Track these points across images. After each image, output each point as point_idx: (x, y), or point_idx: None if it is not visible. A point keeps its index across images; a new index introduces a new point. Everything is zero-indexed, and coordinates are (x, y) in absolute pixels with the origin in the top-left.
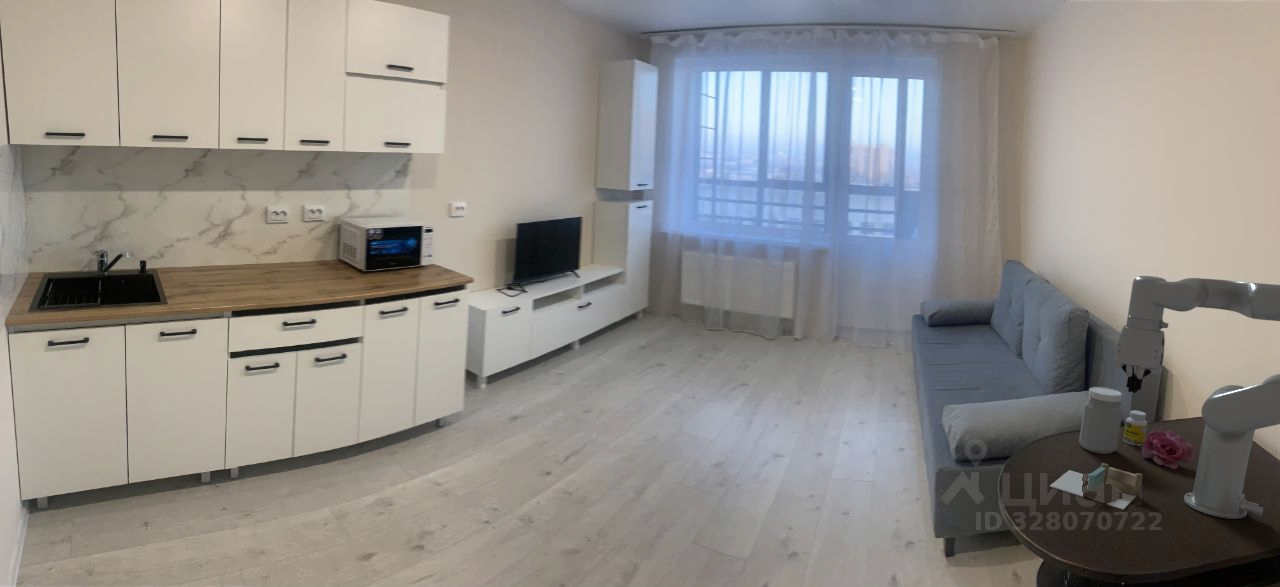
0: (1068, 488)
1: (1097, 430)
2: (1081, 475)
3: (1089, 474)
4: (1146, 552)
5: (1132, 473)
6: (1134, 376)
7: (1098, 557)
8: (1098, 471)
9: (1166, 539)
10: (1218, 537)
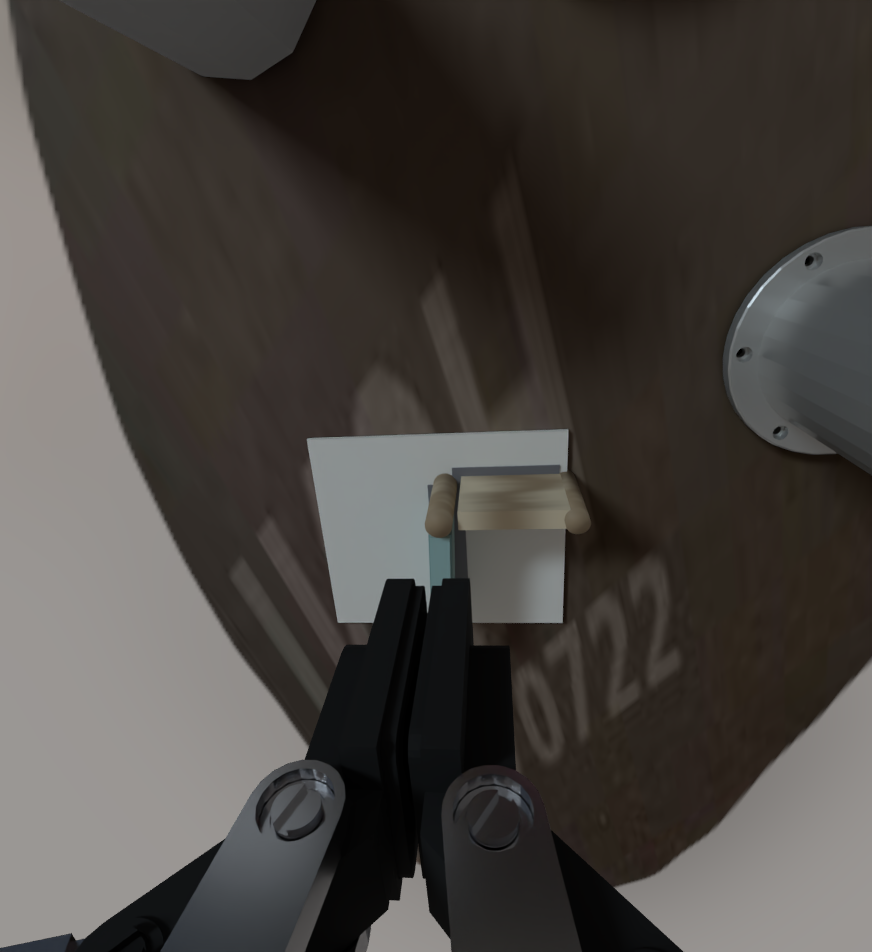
0: None
1: (193, 44)
2: (360, 456)
3: None
4: (667, 799)
5: (547, 510)
6: (387, 820)
7: None
8: None
9: (700, 711)
10: (838, 600)
